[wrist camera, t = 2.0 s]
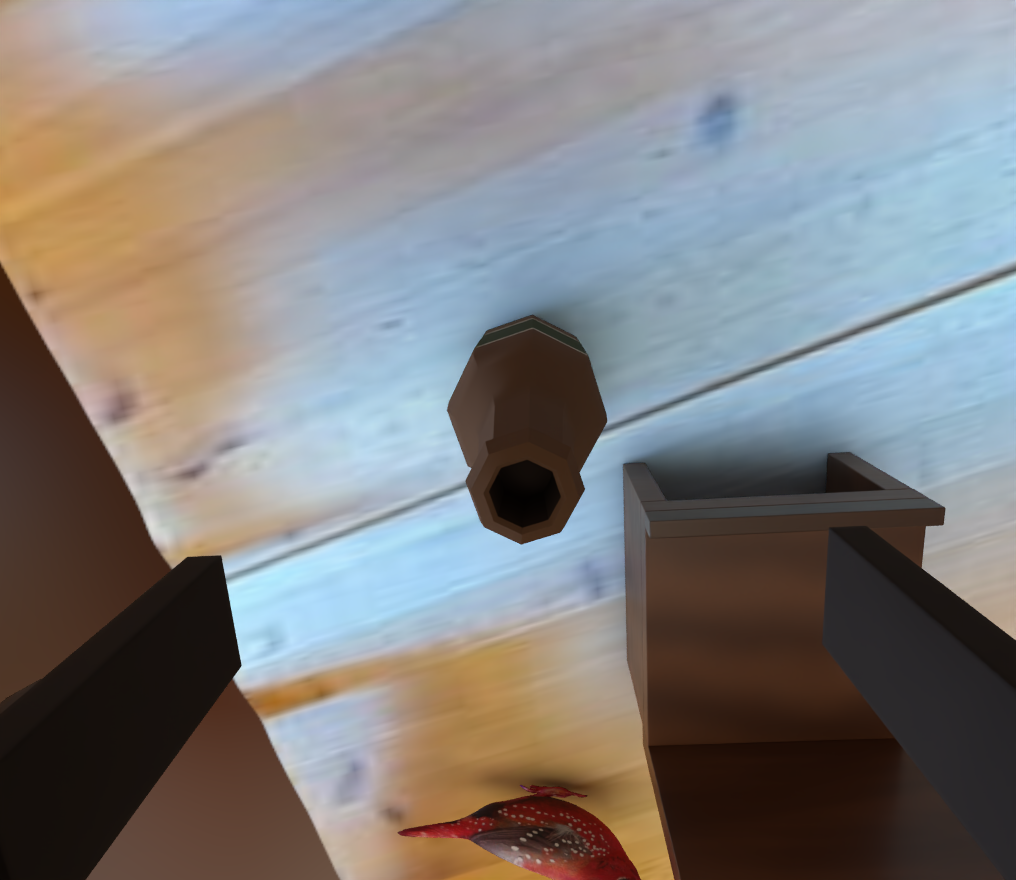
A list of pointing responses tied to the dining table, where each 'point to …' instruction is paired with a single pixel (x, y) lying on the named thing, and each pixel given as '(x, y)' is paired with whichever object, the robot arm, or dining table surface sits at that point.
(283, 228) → the dining table surface
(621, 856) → the decorative bird figurine
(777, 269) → the dining table surface
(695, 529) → the shelf stand
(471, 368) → the beer bottle
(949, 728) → the robot arm
